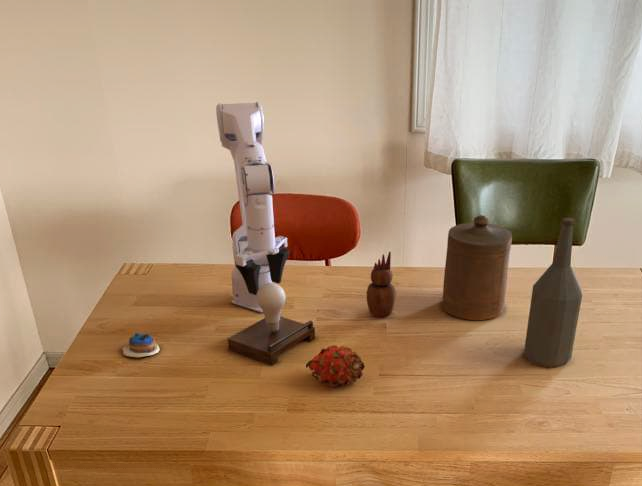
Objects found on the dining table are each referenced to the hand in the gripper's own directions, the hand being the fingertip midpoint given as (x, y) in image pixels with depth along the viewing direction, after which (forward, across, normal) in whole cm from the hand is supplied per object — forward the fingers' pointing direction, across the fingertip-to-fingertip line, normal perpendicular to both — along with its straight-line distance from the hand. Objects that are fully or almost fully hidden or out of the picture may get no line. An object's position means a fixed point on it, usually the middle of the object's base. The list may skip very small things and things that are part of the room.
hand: (265, 287), depth 172 cm
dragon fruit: (+11, -10, -26) cm, 30 cm away
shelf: (+10, -4, -5) cm, 12 cm away
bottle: (+11, +25, -57) cm, 63 cm away
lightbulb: (+8, -4, -5) cm, 10 cm away
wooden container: (+11, +38, -32) cm, 51 cm away
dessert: (+11, -23, +16) cm, 30 cm away
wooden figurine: (+11, +22, -16) cm, 29 cm away
